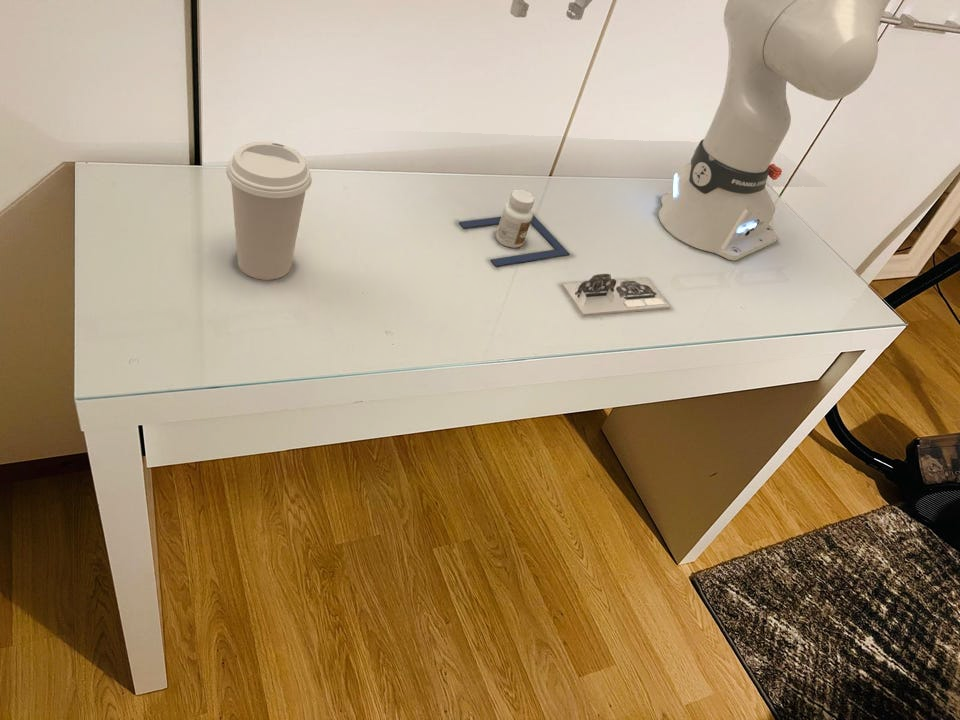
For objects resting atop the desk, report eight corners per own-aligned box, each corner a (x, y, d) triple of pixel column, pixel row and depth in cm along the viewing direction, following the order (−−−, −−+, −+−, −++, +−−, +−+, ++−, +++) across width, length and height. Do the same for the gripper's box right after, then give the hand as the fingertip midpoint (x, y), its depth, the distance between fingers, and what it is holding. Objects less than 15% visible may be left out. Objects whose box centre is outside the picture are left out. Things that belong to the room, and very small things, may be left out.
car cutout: (582, 316, 105) (593, 291, 102) (561, 286, 109) (571, 260, 106) (668, 308, 111) (681, 284, 108) (646, 280, 115) (657, 256, 112)
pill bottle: (521, 252, 113) (536, 207, 107) (493, 243, 112) (506, 198, 107) (525, 237, 116) (539, 193, 111) (498, 228, 116) (511, 184, 111)
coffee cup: (317, 262, 99) (329, 160, 89) (273, 298, 92) (280, 191, 82) (256, 233, 101) (261, 129, 91) (208, 265, 94) (208, 157, 84)
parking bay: (530, 214, 121) (531, 212, 121) (569, 255, 115) (570, 253, 115) (458, 223, 114) (459, 221, 114) (495, 267, 108) (496, 265, 108)
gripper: (523, -99, 86) (493, 24, 95) (653, -80, 96) (615, 29, 106) (495, -116, 90) (469, 4, 99) (624, -97, 100) (589, 10, 109)
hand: (546, 17), depth 102 cm, fingers open, 8 cm apart
